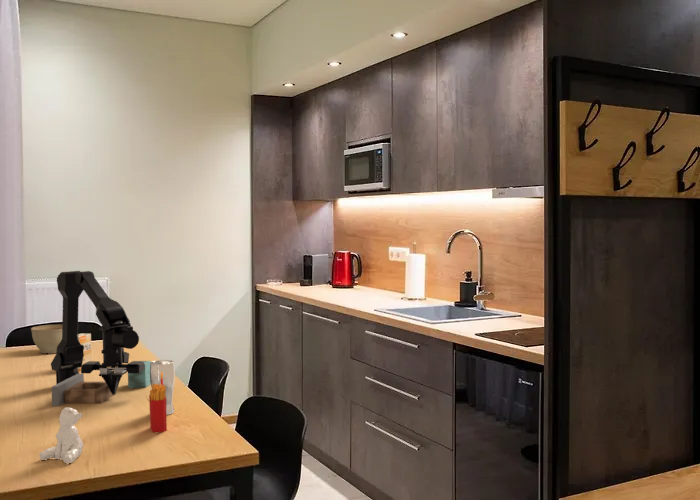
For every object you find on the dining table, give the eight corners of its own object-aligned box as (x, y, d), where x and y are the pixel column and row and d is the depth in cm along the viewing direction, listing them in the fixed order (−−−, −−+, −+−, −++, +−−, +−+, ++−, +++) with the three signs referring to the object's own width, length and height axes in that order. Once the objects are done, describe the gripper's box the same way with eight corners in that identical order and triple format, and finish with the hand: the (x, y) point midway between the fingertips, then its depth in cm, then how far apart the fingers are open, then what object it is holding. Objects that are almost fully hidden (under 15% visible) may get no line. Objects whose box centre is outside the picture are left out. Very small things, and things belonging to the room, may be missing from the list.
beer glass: (180, 410, 208) (178, 360, 208) (166, 417, 202) (165, 365, 201) (160, 408, 211) (158, 359, 210) (146, 415, 204) (144, 363, 203)
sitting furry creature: (37, 461, 167) (35, 410, 166) (64, 449, 175) (62, 401, 174) (69, 465, 163) (67, 414, 163) (94, 453, 171) (93, 404, 171)
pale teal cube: (128, 388, 237) (127, 364, 237) (134, 383, 243) (134, 360, 243) (145, 388, 237) (145, 364, 237) (151, 383, 243) (151, 360, 243)
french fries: (149, 426, 193) (147, 382, 193) (163, 424, 195) (162, 381, 194) (153, 434, 185) (152, 389, 185) (168, 432, 187) (167, 388, 186)
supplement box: (80, 371, 265) (79, 336, 264) (68, 371, 266) (67, 336, 265) (92, 366, 273) (91, 333, 272) (81, 366, 274) (80, 332, 273)
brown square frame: (64, 403, 218) (64, 390, 218) (81, 393, 230) (80, 381, 230) (101, 403, 218) (100, 390, 218) (115, 393, 229) (115, 381, 229)
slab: (52, 406, 215) (51, 386, 215) (78, 391, 233) (77, 373, 233) (58, 406, 215) (57, 386, 215) (84, 391, 233) (83, 373, 233)
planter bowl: (63, 355, 297) (62, 329, 296) (25, 355, 297) (24, 330, 296) (78, 348, 313) (77, 323, 312) (42, 348, 313) (41, 324, 312)
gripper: (150, 340, 230) (151, 387, 231) (94, 340, 231) (95, 387, 232) (137, 347, 219) (139, 396, 220) (79, 347, 220) (80, 396, 221)
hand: (113, 394), depth 223 cm, fingers closed
